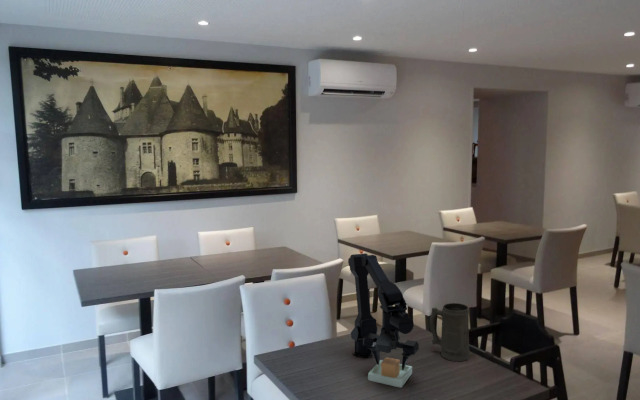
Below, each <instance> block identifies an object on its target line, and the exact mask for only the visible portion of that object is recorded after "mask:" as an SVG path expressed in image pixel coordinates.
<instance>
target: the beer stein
mask: <svg viewBox="0 0 640 400" xmlns="http://www.w3.org/2000/svg"><path fill="white" fill-rule="evenodd" d="M469 314H470V309H469V306H467V305H465V304H463V303H456V302H451V303H450V302H449V303H445V304H443V305H442V309H441V310H440V309H439V308H437V307H431V314H430V317H429V319H428V320H429V322H428V323H429V329H430V331H431V334H432V337H433V338H432V340H431V343H432V345H440V348H441V351H440V355H441V357H442V358H444V359H446V360H448V361H453V362H463V361H468V360H469V359H470V356H471V355H470V337H469V336H470V332H469ZM437 316H441V318H442V319H441V337H440V338H439V336H438V333H437V329H436V317H437Z"/></svg>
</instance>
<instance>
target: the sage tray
mask: <svg viewBox="0 0 640 400" xmlns="http://www.w3.org/2000/svg"><path fill="white" fill-rule="evenodd" d="M383 360H384V359H380V362H379V365H377V363H376V364H375V365H374V367H373V368H372V369H370V371H369V372H368V373H367V374H368V375H367V380H368V381H369V382H374V383H378V384H379V383H380V384H383V385H388V386H393V387H397V388H401V389H402V388H403V386H404V385H405V384H406V382H407V381H408V379H409V378H410V377H411V375H412V374H413V366H412V365H407V364H406V365H405V368H404V370H402V363H400V374H399V375H398V376H397V377H396V378H392V377H388V376H383V375H381V362H382V361H383Z"/></svg>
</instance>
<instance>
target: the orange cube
mask: <svg viewBox="0 0 640 400" xmlns="http://www.w3.org/2000/svg"><path fill="white" fill-rule="evenodd" d="M382 360H383V361H382V362H381V375H383V376H388V377H392V378H396V377H397V376H398V375H399V374H400V364H401V363H400V362H401V361H400V359H396V358H392V357H385V358H384V359H382Z"/></svg>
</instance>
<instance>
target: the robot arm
mask: <svg viewBox="0 0 640 400" xmlns="http://www.w3.org/2000/svg"><path fill="white" fill-rule="evenodd" d="M377 257H378V256H377V255H376V254H375V255H374V254H368V253H364V252H363V253H355V254H351V255H349V257H348V260H347V263H348V266H349V271H350V272H351V273H352V275H353V276H354V282H355V283H354V285H355V294H356V305H357V307H356V308H357V316H356V317H355V319H354V328H353V329H352V330H351V332H350V337H351V339H352V341H354V352H353V353H352V356H356V357H360V358H366V359H369V358H370V357H371V356H372V355H373V357H374V360H375V362H376V364H377V365H379V362H380V360H381V358H380V357H381V354H380V353H385V354H390V353H391V352H392V351H393V350H397V349H398V348H399V349H402V353H401V355H402V361H401V362H402V363H401V364H402V370H404V368H405V365H407V363H408V360H409V358H410V357H412V356H414V355H416V353H417V352H418V351H419V349H420V348H419V347H420V345H419V342H418V341H415V340H409V339H407V340H406V341H405V342H403V341H402V342H401V341H400V340H401V337H400V333H401V334H404V335H408V334H410V333H411V332H412V331H413V329H414V325H415V324H414V321H413V319H412V318H411V317H410V316H409V313H408V312H406V311H408V308H407V305H408V303H407V302H406V300H405V297H404V295H403V292H402V291H401V289H400V288H399V287H398V286H397V285H396V284H395V283H393V282H391V281H390V279H389V278H388V276H387V275H386V273H385V272H384V269H383V268H382V266H381V264H380V263H379V261H378V258H377ZM368 275H369V276H370V278H371V279H372V281H373V283H374V285H375V286H376V288H377V297H378V301H379V303H380V305H379V309H380V310H382V317H381V318H382V322H381V324H382V326H381V328H380V334H377V333H378V326H377V319H376V318H374V317H373V315H372V314H371V305H370V303H371V302H370V293H369V282H368Z"/></svg>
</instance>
